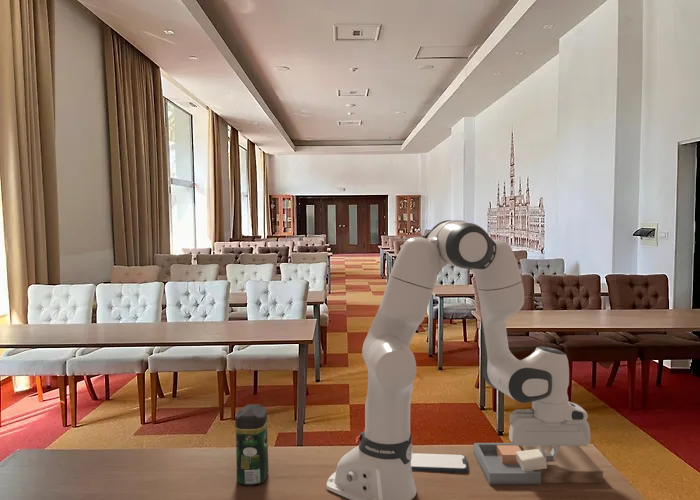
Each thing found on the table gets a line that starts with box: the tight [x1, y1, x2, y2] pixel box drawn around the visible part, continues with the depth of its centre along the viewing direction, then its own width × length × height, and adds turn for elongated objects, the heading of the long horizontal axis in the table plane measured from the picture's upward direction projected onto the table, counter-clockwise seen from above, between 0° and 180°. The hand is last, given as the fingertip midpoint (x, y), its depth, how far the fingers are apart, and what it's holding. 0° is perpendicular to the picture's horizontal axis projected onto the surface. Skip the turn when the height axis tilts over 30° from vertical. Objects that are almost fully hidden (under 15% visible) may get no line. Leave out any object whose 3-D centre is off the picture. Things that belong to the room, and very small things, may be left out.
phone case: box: [411, 452, 469, 474], centre depth 149 cm, size 9×2×16 cm
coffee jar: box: [234, 404, 269, 487], centre depth 141 cm, size 10×8×19 cm
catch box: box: [473, 442, 542, 486], centre depth 146 cm, size 13×18×3 cm
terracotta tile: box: [497, 445, 522, 464], centre depth 151 cm, size 6×6×2 cm
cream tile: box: [516, 449, 547, 471], centre depth 142 cm, size 6×6×2 cm
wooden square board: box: [521, 446, 604, 484], centre depth 146 cm, size 16×16×3 cm
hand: (548, 460), depth 142 cm, fingers closed
